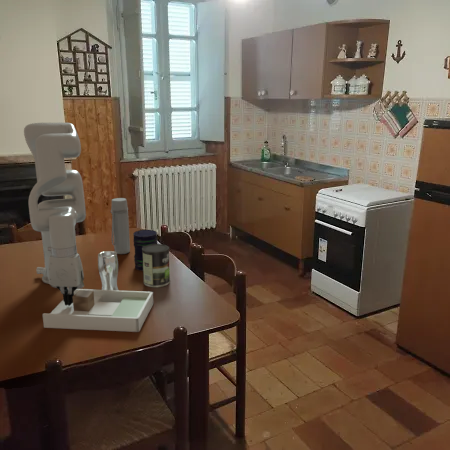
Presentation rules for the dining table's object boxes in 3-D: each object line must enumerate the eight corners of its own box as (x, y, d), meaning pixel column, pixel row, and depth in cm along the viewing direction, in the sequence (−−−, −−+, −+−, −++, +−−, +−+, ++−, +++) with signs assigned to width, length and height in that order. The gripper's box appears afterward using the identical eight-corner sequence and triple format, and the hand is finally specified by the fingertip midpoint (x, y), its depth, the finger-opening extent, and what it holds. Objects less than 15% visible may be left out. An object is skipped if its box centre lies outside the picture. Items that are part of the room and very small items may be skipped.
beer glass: (102, 297, 159) (99, 258, 155) (98, 290, 165) (95, 252, 161) (121, 294, 162) (119, 255, 158) (117, 287, 168) (114, 249, 164)
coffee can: (173, 278, 177) (172, 244, 173) (165, 288, 167) (164, 253, 163) (149, 276, 179) (147, 242, 175) (139, 286, 169) (137, 251, 165)
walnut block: (73, 310, 144) (72, 296, 142) (79, 303, 149) (78, 290, 147) (88, 311, 143) (87, 297, 142) (94, 304, 148) (93, 290, 147)
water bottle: (122, 248, 211) (119, 197, 204) (134, 251, 207) (131, 199, 200) (107, 253, 204) (103, 200, 197) (118, 257, 200) (115, 203, 193)
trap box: (44, 327, 138) (42, 314, 137) (69, 300, 157) (68, 288, 156) (138, 331, 136) (138, 318, 135) (153, 303, 155) (153, 291, 154)
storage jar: (160, 263, 193) (159, 230, 189) (155, 271, 184) (153, 236, 180) (138, 262, 194) (136, 229, 190) (131, 270, 185) (129, 236, 181)
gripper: (35, 253, 138) (41, 307, 143) (82, 255, 137) (87, 310, 142) (47, 246, 145) (52, 297, 150) (91, 247, 144) (95, 299, 149)
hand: (69, 303), depth 146 cm, fingers closed
